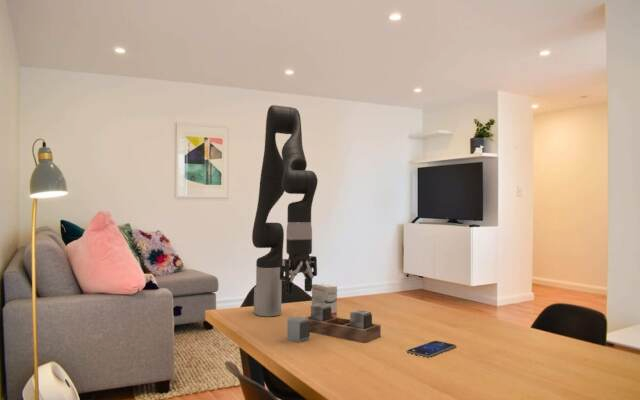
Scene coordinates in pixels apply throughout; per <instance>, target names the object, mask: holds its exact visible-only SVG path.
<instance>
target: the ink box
mask: <svg viewBox="0 0 640 400" xmlns="http://www.w3.org/2000/svg"><path fill="white" fill-rule="evenodd" d="M316 304H325V305H331V316H333V317H337V315H338V311H337V310H338V309H337V307H338V306H337V305H338V286H337V285H331V284H324V283H312V291H311V306H312V305H316Z"/></svg>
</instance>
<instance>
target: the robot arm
mask: <svg viewBox="0 0 640 400" xmlns="http://www.w3.org/2000/svg"><path fill="white" fill-rule="evenodd" d="M267 109H268V110H267V114H266V122H265V134H264V135H265V136H264V152H263V157H262V163H261V164H262V165H261V171H260V179H259V190H258V199H257V207H256V211H255V217H254V222H253V227H252V232H251V233H252V235H251V236H252V237H251V241H252V244H253V247H255V248H258V249H270V251H269V252H268V253H266V254H265V255H263V256H260V257H258V258H257V259H256V262H255V263H256V264H255V267H256V269H255V270H256V271H255V273H256V274H255V275H256V278H255V281H256V282H255V287H253V314H255V315H257V316H260V317H276V316H280V315H281V314H282V289H283V288H282V287H283V286H282V284H283V283H282V281H284V283H285V284H284V286H285V287H284V288H285V290H284V291H285V292H284V293H285V295H286V296H293V295H294V280H295V277H297V276H298V274H300V273H301V274H303V276H304V291H305V292H307V293H308V292H312V285H313V279H314V277H317V276H318V263H317V262H318V259H317V256H314V255H311V254H312V253H313V229H312V206H313V201H314V197H315V193H316V191H317V187H318V183H319V182H318V176H317V174H316V173H315V172H314V171H313V170H308V169H307V167H308V164H307V159H306V156H305V153H304V146H303V134H302V121H301V114H300V112H299V110H298V109H297V108H295V107H292V106H283V105H278V104H277V105H276V104H273V105H270V106H269V107H268V108H267ZM276 134H283V135H290V136H289V138H288V139H287V140H286V141H285V143H283V146H282V148H281V153H280V151H279V148H278V145H277V140H276ZM284 193H287V194H290V195H303V198H302V199H301V200H298V201H294V202H293V201H292V202H290V203H288V205H287V218H286V219H287V222H286V223H287V224H286V246H285V247H286V254H287V255H288V258H283V256H284V240H285V239H284V236H285V233H284V226H283V225H282V224H281V222H267V220H268V218H269V217H268V216H269V214H270V213H271V211H272V209H273V207H274V206H275V205H276V204H277V202H279V200H280V198H281V197H282V196H283V194H284Z"/></svg>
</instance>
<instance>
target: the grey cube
mask: <svg viewBox="0 0 640 400" xmlns="http://www.w3.org/2000/svg"><path fill="white" fill-rule="evenodd" d="M286 320H287V321H286V323H287V324H286V326H287V327H286V330H287V331H286V334H287V335H286V340H287V341H290V342H291V341H292V342H296V343H301V342H304V341H308V340H309V339H310V335H311V334H310V321H309V318H306V317H303V316H297V315H296V316H293V317H290V318H287V319H286Z"/></svg>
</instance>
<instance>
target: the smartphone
mask: <svg viewBox="0 0 640 400" xmlns="http://www.w3.org/2000/svg"><path fill="white" fill-rule="evenodd" d="M451 349H452V350H454V349H457V345H456V344H453V343H448V342H444V341H439V340H433V341H430V342H427V343H424V344H420V345H418V346H415V347H413V348H410V349H408V350H406V352H407V354H409V353H411V354H410V355H413V354H417V355H416V356H418V355H419V356H418V357H420V356H423V357H422V358H424V357H427V358H426V359H429V358H428V357H431V358H433V357H435V355H436V356H439V355H441V354H443V352H444V353H446V352H449V351H452V350H451ZM440 353H441V354H440ZM438 354H439V355H438ZM432 356H433V357H432Z"/></svg>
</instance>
